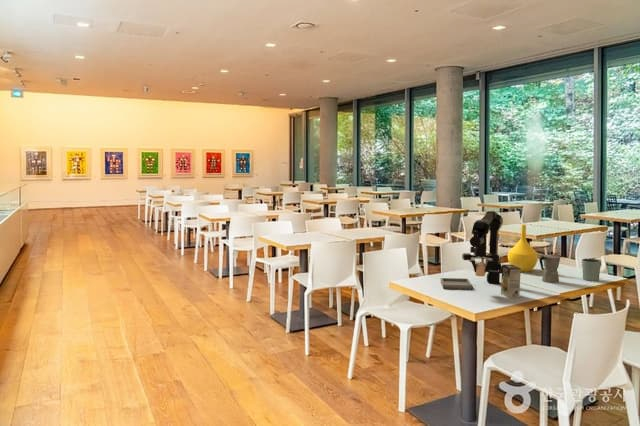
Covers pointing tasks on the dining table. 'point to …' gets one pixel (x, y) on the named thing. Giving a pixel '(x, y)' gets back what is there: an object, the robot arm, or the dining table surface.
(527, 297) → the dining table surface
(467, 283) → the tray
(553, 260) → the coffeepot
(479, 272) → the shaker
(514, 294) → the coffee box
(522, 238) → the vase
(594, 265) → the grey plant pot
